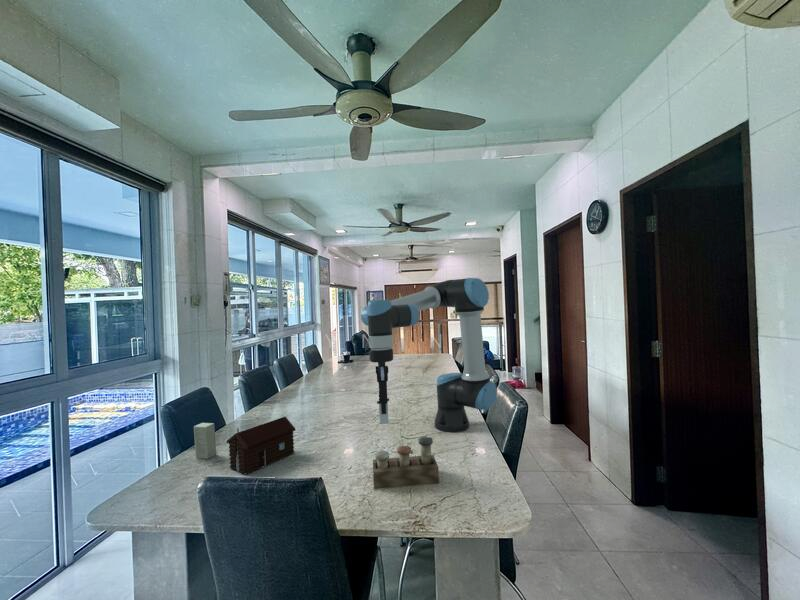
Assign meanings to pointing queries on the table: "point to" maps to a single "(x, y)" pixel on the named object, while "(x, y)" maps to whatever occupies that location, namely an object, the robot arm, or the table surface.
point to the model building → (261, 445)
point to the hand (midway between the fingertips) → (384, 422)
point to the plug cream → (382, 459)
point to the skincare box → (204, 440)
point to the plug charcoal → (426, 450)
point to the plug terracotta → (404, 455)
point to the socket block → (405, 473)
